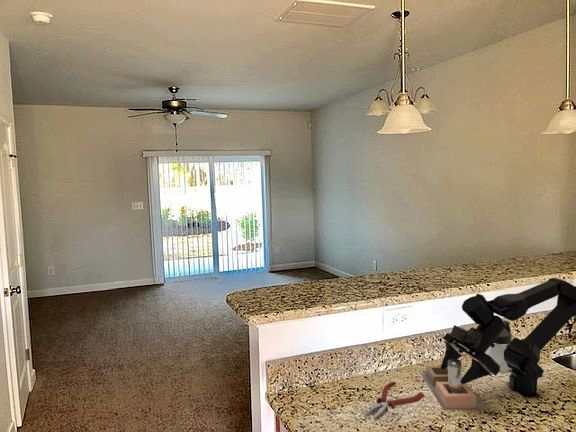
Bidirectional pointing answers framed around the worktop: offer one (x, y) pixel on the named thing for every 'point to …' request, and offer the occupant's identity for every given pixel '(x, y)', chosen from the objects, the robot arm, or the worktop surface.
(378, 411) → the pliers
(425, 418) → the worktop surface
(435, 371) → the dock plate
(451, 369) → the peg
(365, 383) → the worktop surface
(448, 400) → the socket
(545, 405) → the worktop surface
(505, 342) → the jar
